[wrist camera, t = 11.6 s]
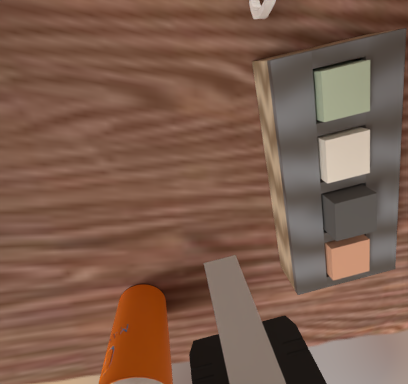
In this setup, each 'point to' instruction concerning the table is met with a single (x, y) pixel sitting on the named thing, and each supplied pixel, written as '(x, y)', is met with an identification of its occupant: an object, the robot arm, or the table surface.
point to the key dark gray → (349, 212)
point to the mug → (261, 8)
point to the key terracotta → (347, 257)
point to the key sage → (342, 89)
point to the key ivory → (344, 154)
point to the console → (308, 151)
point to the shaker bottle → (139, 340)
